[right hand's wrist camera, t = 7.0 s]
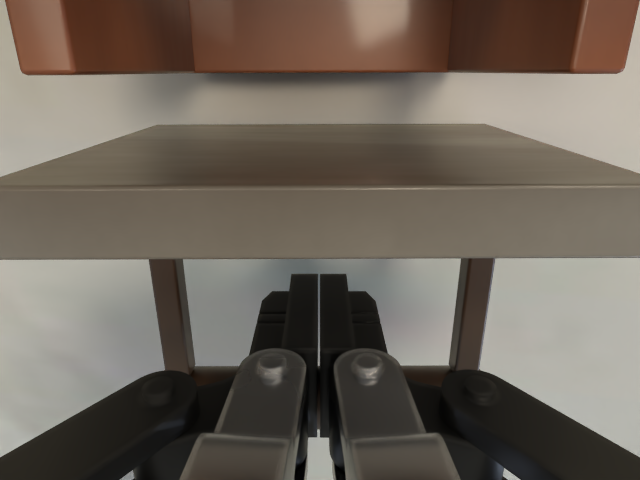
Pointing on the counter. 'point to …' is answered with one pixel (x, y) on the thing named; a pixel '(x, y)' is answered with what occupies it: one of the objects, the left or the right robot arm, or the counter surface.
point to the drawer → (320, 150)
